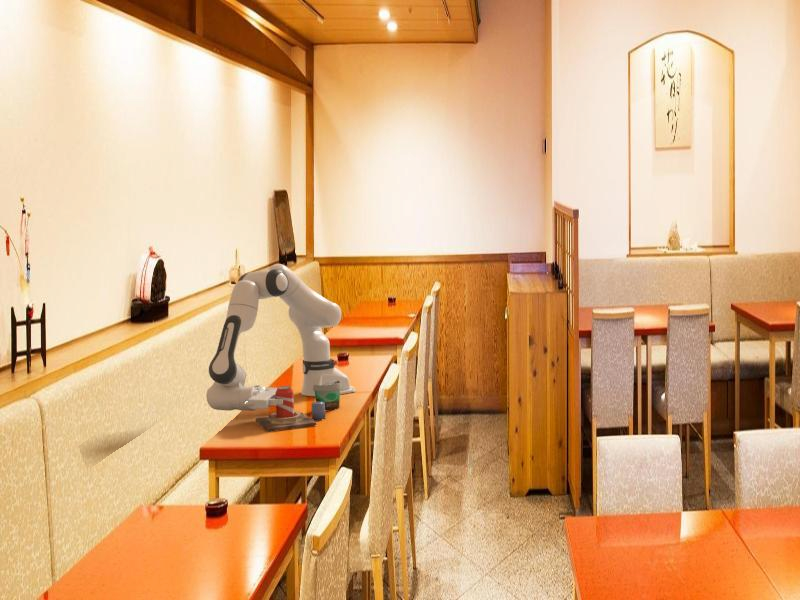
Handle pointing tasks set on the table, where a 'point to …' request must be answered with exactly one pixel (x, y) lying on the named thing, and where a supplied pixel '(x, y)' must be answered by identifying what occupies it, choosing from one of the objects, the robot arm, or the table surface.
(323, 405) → the lavender rounded cylinder
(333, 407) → the food container
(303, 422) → the square plate with ring
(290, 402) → the beverage can
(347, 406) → the table surface
